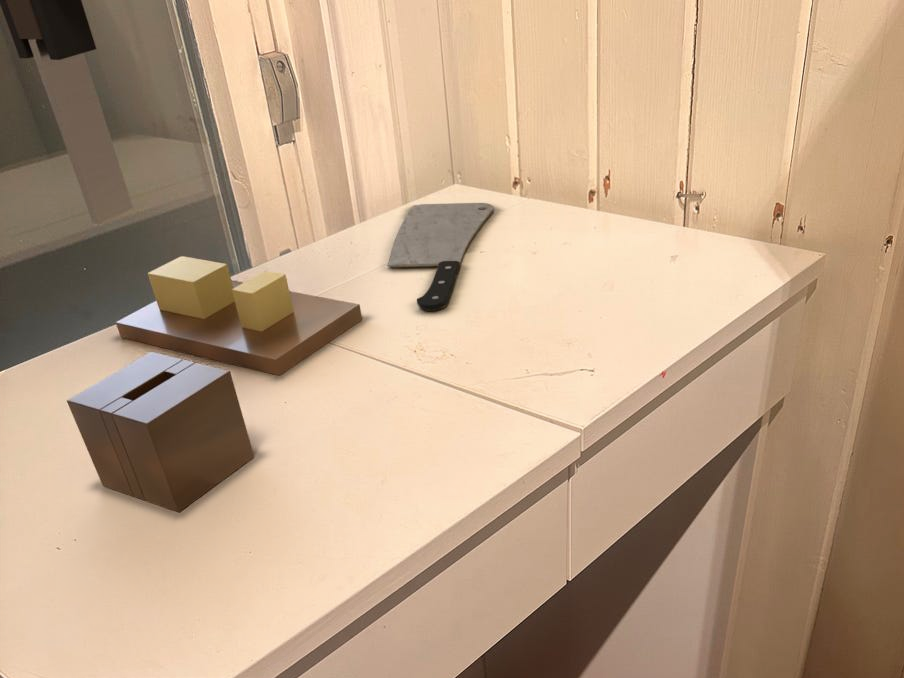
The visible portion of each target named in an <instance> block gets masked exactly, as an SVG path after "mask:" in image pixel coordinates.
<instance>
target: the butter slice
mask: <svg viewBox="0 0 904 678" xmlns="http://www.w3.org/2000/svg"><path fill="white" fill-rule="evenodd" d="M243 282H244V283H242V284H241V285H239V286H237V287H235V288H233V289H232V293H233V297H234V301H235V304H236V308H237V312H238V316H239V319H240V323H241V327H242V328H247V329H251V330H256V331H261V332H262V331H264V330H266V329H267V328H269V327H271V326H272V325H274V324H275V323H277V322H279V321H280V320H282V319H283V318H285V317H287V316H288V315H290V314H291V313H293V312H294V310H293V306H292V301H291V297H290V292H289V291H290V288H289V284H288V278H287V275H286V274H285V273H279V272H274V271H268V270H264V271H262V272H260V273H259V274H257V275H255V276H253V277H251V278H250V279H247V280H246V281H243Z"/></svg>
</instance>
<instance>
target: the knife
mask: <svg viewBox="0 0 904 678" xmlns="http://www.w3.org/2000/svg"><path fill="white" fill-rule="evenodd" d="M6 2H7V4H8V7H9V10H10V13H11V16H12V18H13V21H14V24H15V27H16V29H17V32H18V35H19V37H20V38H21V39H29V40H28V41H29V44H30V47H31V50H32V52H33V55H34V57H33V59H34V61H35V63H36V67H37V69H38V72H39V75H40V78H41V82H42V83H43V86H44V89H45V93H46V95H47V98H48V100H49V103H50V106H51V109H52V112H53V116H54V117H55V120H56V123H57V126H58V129H59V132H60V135H61V137H62V140H63V142H64V146H65V148H66V149H65V150H66V152H67V154H68V157H69V160H70V163H71V166H72V169H73V171H74V174H75V177H76V179H77V183H78V185H79V188H80V191H81V194H82V197H83V199H84V202H85V205H86V208H87V211H88V214H89V217H90V220H91V222H92V225H94V226H102V225H104V224H106V223H108V222H110V221H112V220H115V219H117V218H119V217H121V216H124V215H126V214H129V213H131V212H133V211H134V210H135V208H134V206H133V203H132V200H131V197H130V194H129V191H128V188H127V184H126V181H125V177H124V174H123V171H122V168H121V165H120V161H119V159H118V156H117V153H116V149H115V146H114V143H113V141H112V137H111V134H110V130H109V128H108V125H107V122H106V118H105V116H104V113H103V109H102V106H101V102H100V99H99V97H98V93H97V90H96V87H95V85H94V81H93V78H92V75H91V72H90V69H89V66H88V63H87V59H86V56H85V53H81V54H78V55H75V56H71V57H68V58H64V59H61V60H51V59H50V56H49V54H48V51H47V48H46V45H45V42H44V39H43V35H42V33H41V30H40V27H39V24H38V21H37V18H36V15H35V12H34V9H33V6H32V3H31V1H30V0H6Z"/></svg>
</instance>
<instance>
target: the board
mask: <svg viewBox="0 0 904 678" xmlns="http://www.w3.org/2000/svg"><path fill="white" fill-rule="evenodd" d="M231 281H232V284H233V288H235V287H237V286H239V285H241V284H242V283H244V282H245V281H237V280H233V279H231ZM289 292H290V297H291V301H292V306H293V310H294V312H293V313H291V314H290V315H288V316H287V317H285V318H283V319H282V320H280V321H279V322H277V323H275V324H274V325H272V326H271V327H269V328H267V329H266V330H264V331H262V332H261V331H256V330H251V329H247V328H242V327H241V323H240V319H239V316H238V312H237V308H236V304H235V302H233V303H232V304H230V305H228V306H226V307H225V308H223V309H221V310H220V311H218V312H216V313H214V314H213V315H211V316H209V317H207V318H206V319H201V318H196V317H191V316H187V315H182V314H178V313H173V312H168V311H164V310H159V307H158V304H157V301H156V300H155V301H153V302H150V303H149V304H147V305H145V306H144V307H142V308H140V309H138V310H135V311H134V312H132V313H130V314H129V315H127V316H125V317H123V318H121V319H119V320H117V321H115V325H116V327H117V330H118V333H119V336H120V338H122V339H126V340H131V341H134V342H138V343H143V344H146V345H151V346H155V347H160V348H162V349H163V348H164V349H168V350H172V351H175V352H176V351H177V352H179V353H183V354H187V355H193V356H197V357H200V358H205V359H209V360H213V361H218V362H221V363H226V364H229V365H234V366H238V367H242V368H246V369H250V370H253V371H258V372H263V373H267V374H271V375H276V376H281V375H283V374H285V373H286V372H287V371H289V370H290V369H291V368H293V367H295V366H296V365H298V364H299V363H300V362H302V361H303V360H305V359H307V358H308V357H309V356H310V355H312V354H314V353H315V352H317V351H318V350H320V349H322V348H323V347H324V346H325V345H327V344H329V343H330V342H332V341H333V340H334V339H336V338H337V337H339V336H340V335H342V334H344V333H345V332H347V330H350V329H351V328H352V327H353V326H355V325H357V324H358V323H359V322H361V321H362V320H363V316H362V309H361V304H359V303H355V302H349V301H344V300H338V299H333V298H328V297H323V296H318V295H311V294H306V293H302V292H298V291H297V292H296V291H291V290H289Z"/></svg>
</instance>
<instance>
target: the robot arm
mask: <svg viewBox="0 0 904 678" xmlns="http://www.w3.org/2000/svg"><path fill="white" fill-rule="evenodd" d="M30 1H31V3H32V6H33V9H34V12H35V15H36V18H37V21H38V24H39V27H40V30H41V33H42V35H43V39H44V42H45V45H46V48H47V51H48V54H49V56H50V59H51V60H61V59H64V58H68V57H71V56H75V55H78V54H81V53H84V54H85V53H89V52H91V51H94V50H97V46H96V43H95V40H94V37H93V34H92V30H91V27H90V24H89V21H88V17H87V14H86V11H85V7H84V4H83V1H82V0H30ZM0 8H1V10H2V13H3V15H4V19H5V22H6V24H7V27H8V30H9V33H10V35H11V38H12V41H13V44H14V47H15V49H16V52H17V54H18V55H17V56H18V58H19V59H31V58H34V55H33V52H32V50H31V47H30V44H29V41H28V40H29V39H21V38H20V37H19V35H18V32H17V29H16V27H15V24H14V21H13V18H12V16H11V13H10V10H9V7H8V4H7V2H6V0H0Z"/></svg>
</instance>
